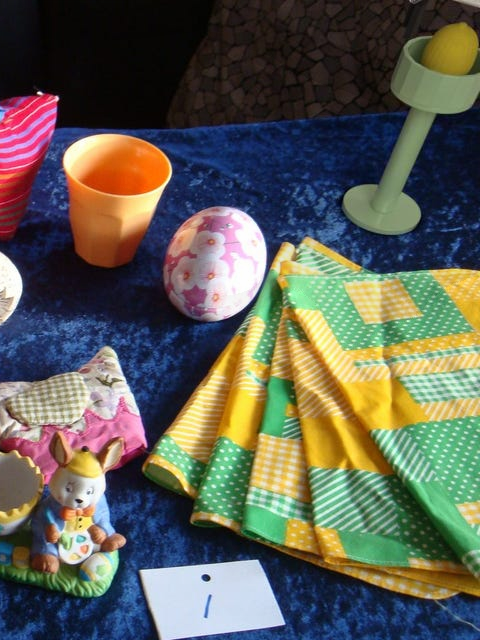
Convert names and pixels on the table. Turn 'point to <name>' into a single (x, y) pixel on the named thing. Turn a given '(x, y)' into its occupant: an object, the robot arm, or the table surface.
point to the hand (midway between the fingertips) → (451, 47)
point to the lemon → (451, 50)
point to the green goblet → (410, 139)
